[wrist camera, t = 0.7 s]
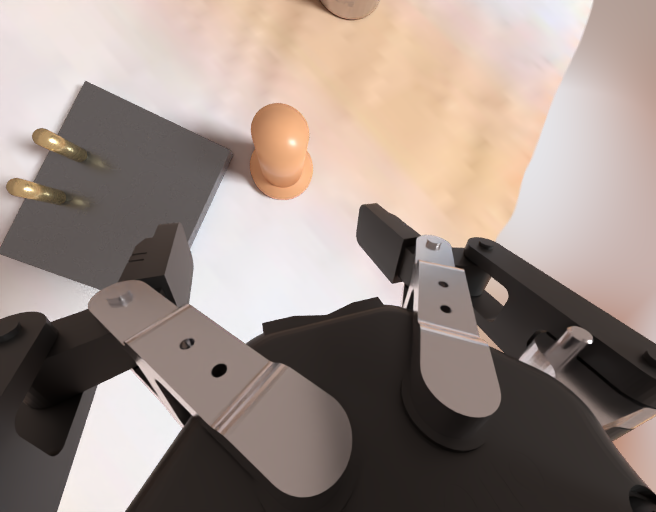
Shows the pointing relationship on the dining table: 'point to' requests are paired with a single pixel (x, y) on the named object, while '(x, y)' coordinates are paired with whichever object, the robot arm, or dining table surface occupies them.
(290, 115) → the orange flanged cylinder
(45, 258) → the base plate
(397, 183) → the dining table surface
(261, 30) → the dining table surface
